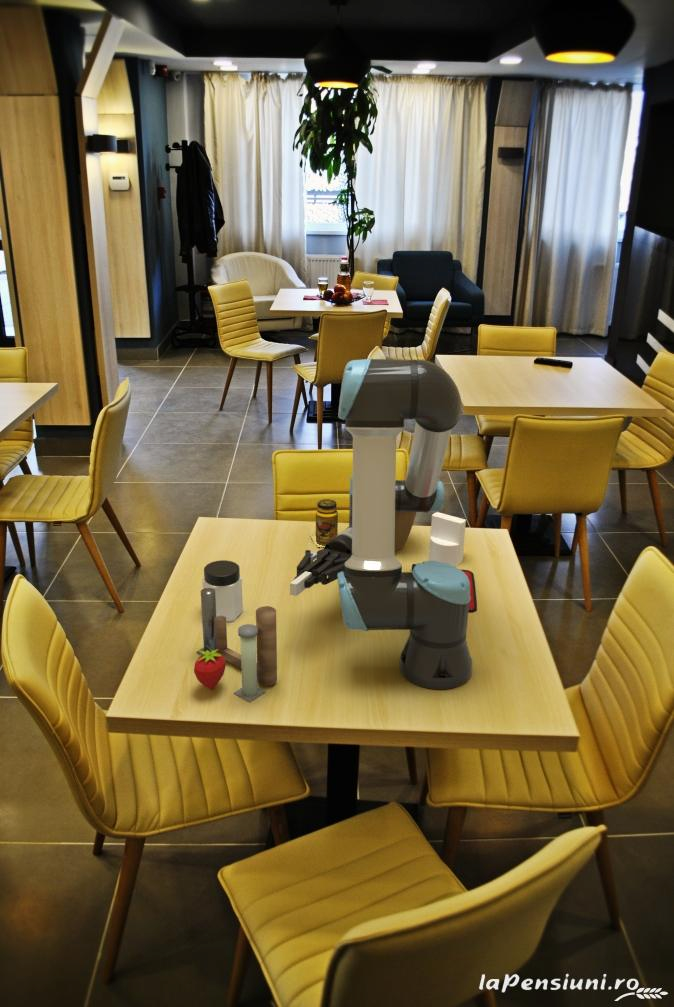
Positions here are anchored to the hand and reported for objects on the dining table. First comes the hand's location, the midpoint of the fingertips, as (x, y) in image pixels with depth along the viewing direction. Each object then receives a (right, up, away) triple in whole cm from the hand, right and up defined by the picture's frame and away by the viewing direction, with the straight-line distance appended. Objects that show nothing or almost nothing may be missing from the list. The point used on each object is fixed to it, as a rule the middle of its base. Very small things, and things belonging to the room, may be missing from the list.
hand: (293, 589), depth 176 cm
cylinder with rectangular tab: (+38, +3, +50) cm, 63 cm away
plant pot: (+23, +6, +56) cm, 61 cm away
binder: (+35, -4, +35) cm, 50 cm away
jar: (-17, -8, +22) cm, 29 cm away
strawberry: (-16, -20, -5) cm, 26 cm away
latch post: (-8, -20, -6) cm, 23 cm away
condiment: (+6, +7, +59) cm, 60 cm away
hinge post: (-18, -14, +7) cm, 24 cm away
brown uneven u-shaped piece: (-10, -16, 0) cm, 19 cm away
